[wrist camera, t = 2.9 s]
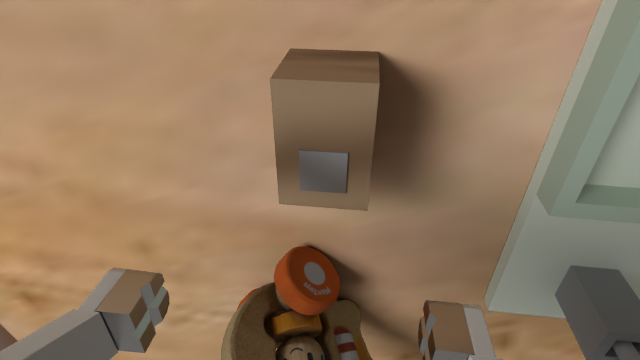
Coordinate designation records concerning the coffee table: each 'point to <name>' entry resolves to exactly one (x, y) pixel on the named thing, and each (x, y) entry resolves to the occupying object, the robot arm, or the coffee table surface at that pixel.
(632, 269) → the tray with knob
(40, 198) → the coffee table surface
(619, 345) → the wheel knob
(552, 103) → the coffee table surface
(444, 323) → the robot arm
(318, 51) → the brown rectangular block
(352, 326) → the toy helicopter
